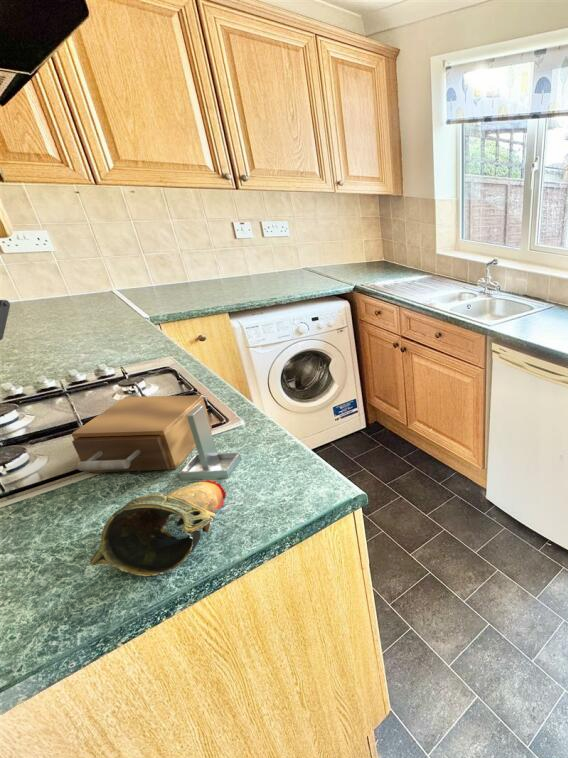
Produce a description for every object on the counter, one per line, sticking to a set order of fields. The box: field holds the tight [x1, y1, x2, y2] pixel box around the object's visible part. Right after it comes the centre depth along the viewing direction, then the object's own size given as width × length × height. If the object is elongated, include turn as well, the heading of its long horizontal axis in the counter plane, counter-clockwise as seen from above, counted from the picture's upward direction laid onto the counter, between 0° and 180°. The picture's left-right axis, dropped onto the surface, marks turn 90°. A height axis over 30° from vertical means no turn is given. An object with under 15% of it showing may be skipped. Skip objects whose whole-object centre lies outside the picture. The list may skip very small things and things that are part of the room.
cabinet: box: [71, 394, 213, 473], centre depth 84 cm, size 15×15×9 cm
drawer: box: [71, 435, 171, 474], centre depth 80 cm, size 18×13×7 cm
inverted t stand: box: [178, 405, 242, 481], centre depth 78 cm, size 8×6×13 cm
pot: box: [87, 479, 227, 577], centre depth 64 cm, size 17×11×18 cm
